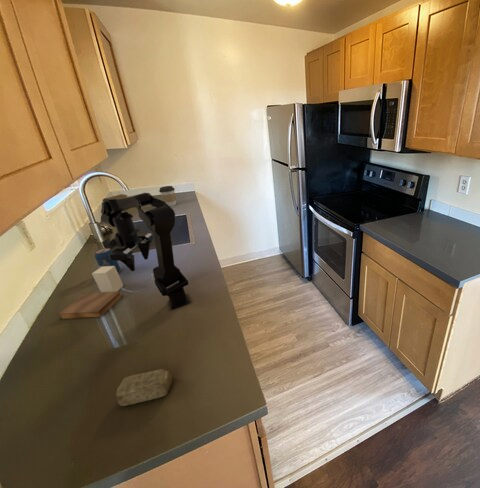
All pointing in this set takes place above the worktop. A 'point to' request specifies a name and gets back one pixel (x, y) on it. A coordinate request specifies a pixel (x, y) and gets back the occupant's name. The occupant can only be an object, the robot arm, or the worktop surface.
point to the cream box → (107, 279)
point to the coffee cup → (168, 195)
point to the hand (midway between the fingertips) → (139, 264)
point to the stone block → (144, 387)
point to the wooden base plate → (90, 305)
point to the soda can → (105, 259)
